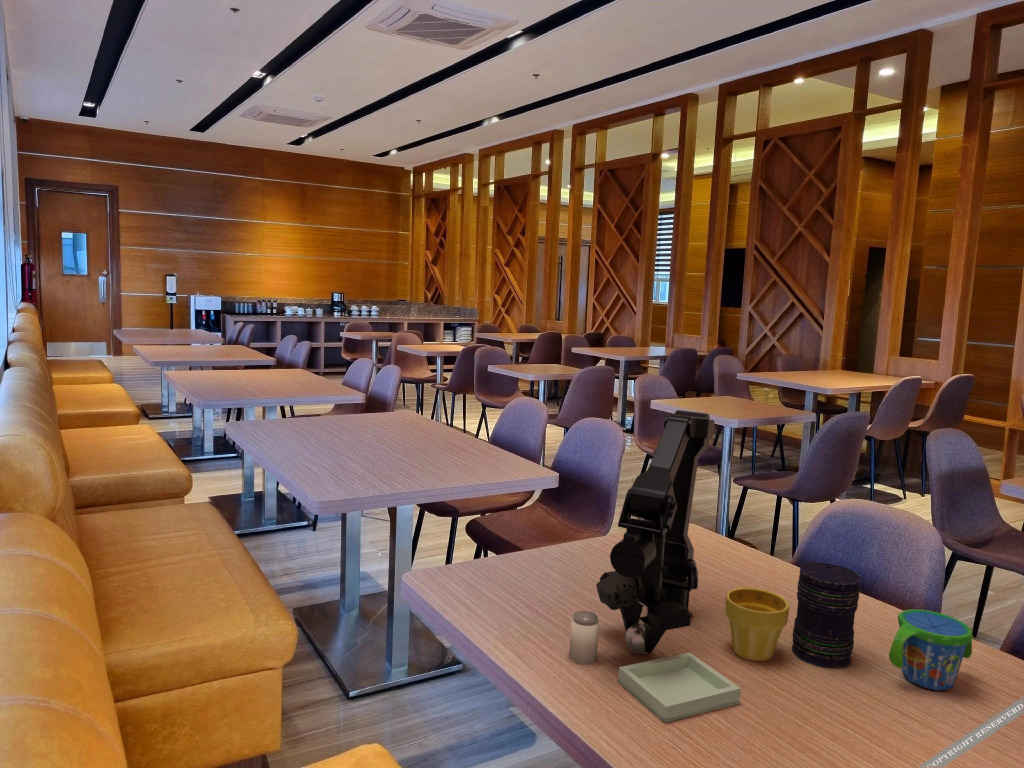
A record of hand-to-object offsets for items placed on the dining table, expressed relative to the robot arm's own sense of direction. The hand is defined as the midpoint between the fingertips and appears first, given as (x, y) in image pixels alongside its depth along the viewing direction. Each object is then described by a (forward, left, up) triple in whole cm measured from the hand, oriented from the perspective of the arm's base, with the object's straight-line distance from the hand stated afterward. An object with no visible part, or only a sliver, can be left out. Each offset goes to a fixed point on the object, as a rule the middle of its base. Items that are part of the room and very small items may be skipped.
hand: (639, 645), depth 129 cm
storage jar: (-30, +12, -2) cm, 32 cm away
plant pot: (-19, +7, -2) cm, 20 cm away
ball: (0, 0, -1) cm, 1 cm away
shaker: (+10, -2, -1) cm, 10 cm away
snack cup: (-40, +25, -2) cm, 47 cm away
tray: (+2, +13, -1) cm, 13 cm away
